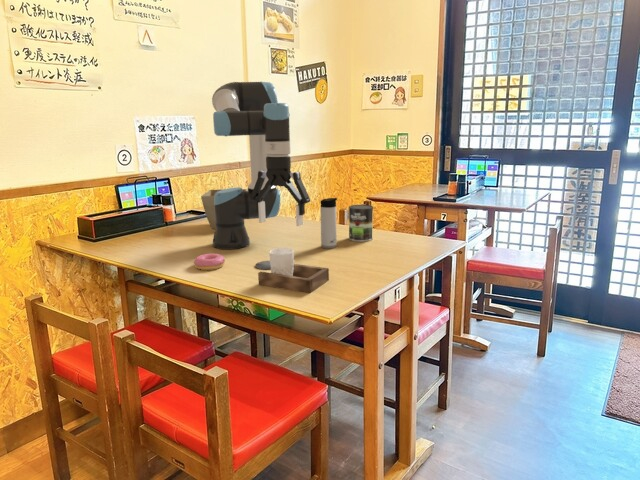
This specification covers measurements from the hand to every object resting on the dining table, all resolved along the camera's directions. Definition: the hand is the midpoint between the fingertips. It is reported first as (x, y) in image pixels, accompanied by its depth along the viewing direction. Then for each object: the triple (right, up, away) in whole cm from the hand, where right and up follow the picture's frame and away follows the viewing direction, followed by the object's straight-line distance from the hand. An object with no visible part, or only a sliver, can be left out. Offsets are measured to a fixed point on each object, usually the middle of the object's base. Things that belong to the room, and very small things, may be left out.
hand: (280, 223), depth 155 cm
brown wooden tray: (+4, -19, +3) cm, 19 cm away
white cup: (0, -19, +5) cm, 19 cm away
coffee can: (+30, -5, +56) cm, 64 cm away
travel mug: (+16, -8, +45) cm, 48 cm away
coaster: (-6, -14, +21) cm, 26 cm away
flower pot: (-33, +1, +84) cm, 91 cm away
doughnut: (-27, -15, +21) cm, 38 cm away
